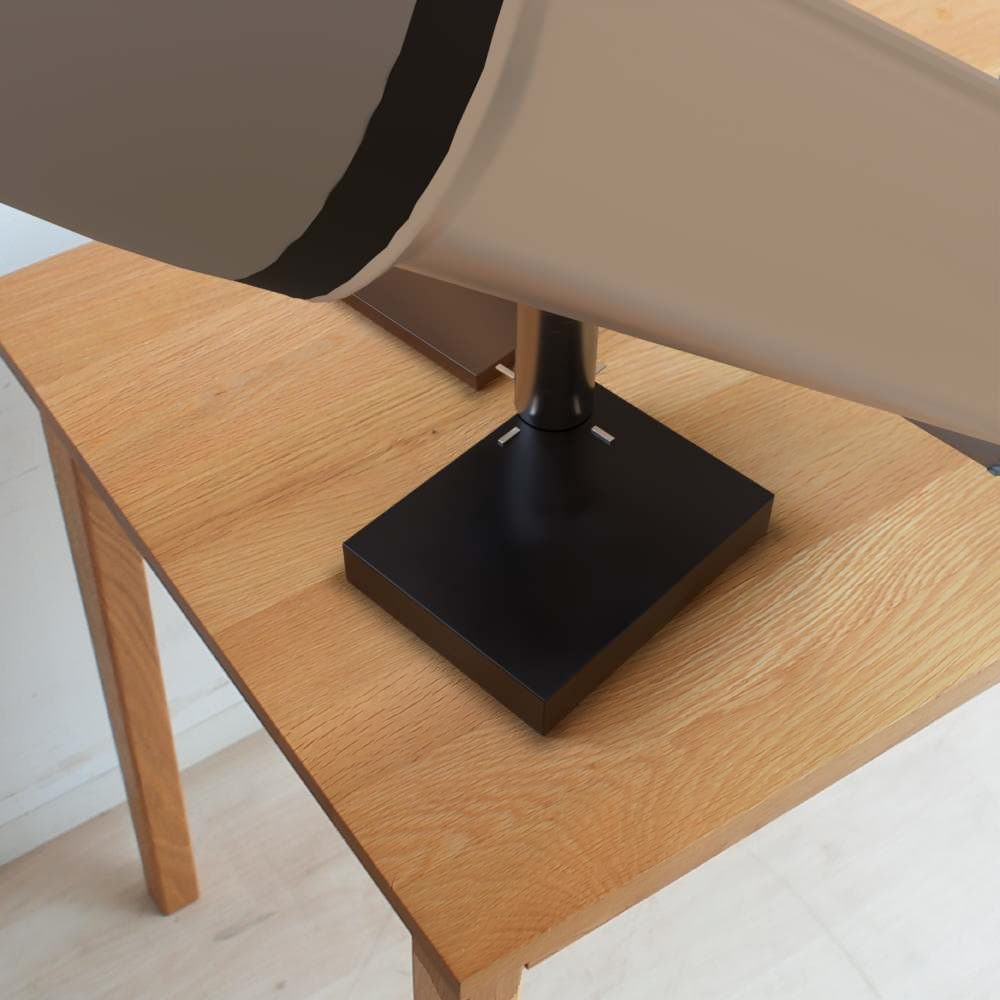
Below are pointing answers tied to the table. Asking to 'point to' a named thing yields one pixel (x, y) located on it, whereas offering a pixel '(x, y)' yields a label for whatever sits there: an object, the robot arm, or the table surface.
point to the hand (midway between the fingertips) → (437, 60)
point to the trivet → (443, 322)
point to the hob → (557, 550)
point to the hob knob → (553, 368)
